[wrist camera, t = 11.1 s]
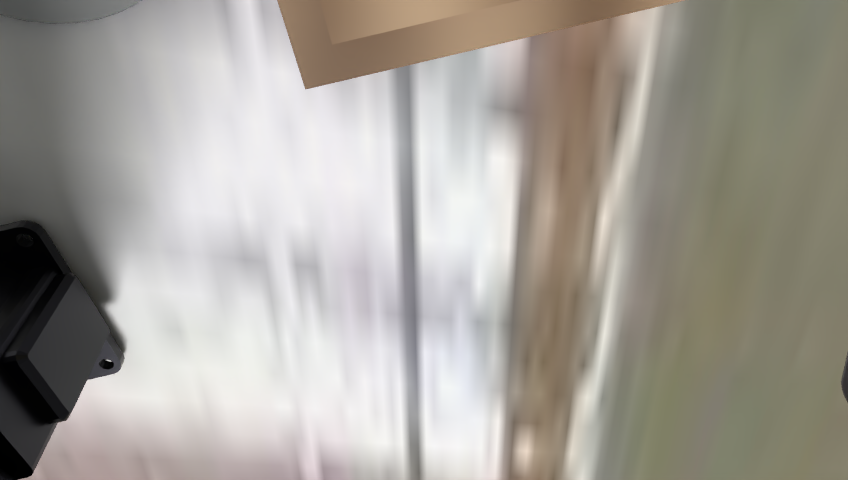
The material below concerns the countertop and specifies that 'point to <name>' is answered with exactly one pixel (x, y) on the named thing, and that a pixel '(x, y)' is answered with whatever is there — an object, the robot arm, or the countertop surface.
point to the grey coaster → (62, 9)
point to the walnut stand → (422, 29)
